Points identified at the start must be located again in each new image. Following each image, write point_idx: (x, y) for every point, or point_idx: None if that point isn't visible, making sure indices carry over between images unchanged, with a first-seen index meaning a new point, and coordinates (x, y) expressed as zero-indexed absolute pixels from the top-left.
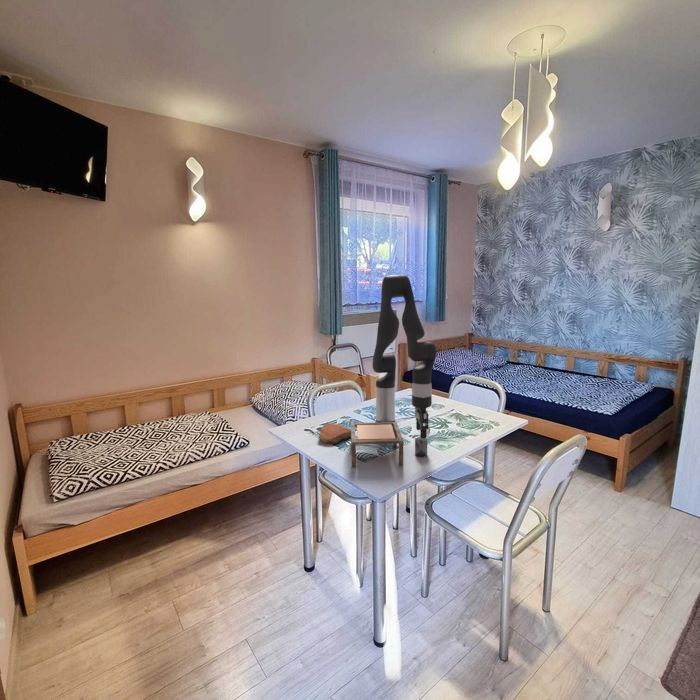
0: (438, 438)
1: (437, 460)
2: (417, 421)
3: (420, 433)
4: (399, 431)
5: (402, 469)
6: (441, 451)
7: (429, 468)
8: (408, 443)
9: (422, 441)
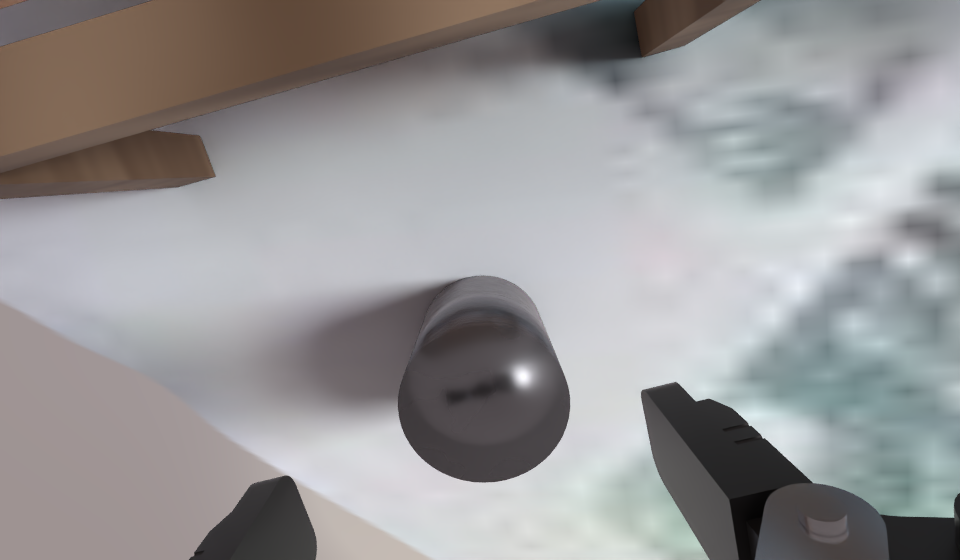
0: (879, 473)
1: (391, 475)
2: (728, 512)
3: (244, 526)
4: (310, 54)
5: None
6: (581, 502)
7: (221, 418)
8: (733, 186)
9: (441, 425)
